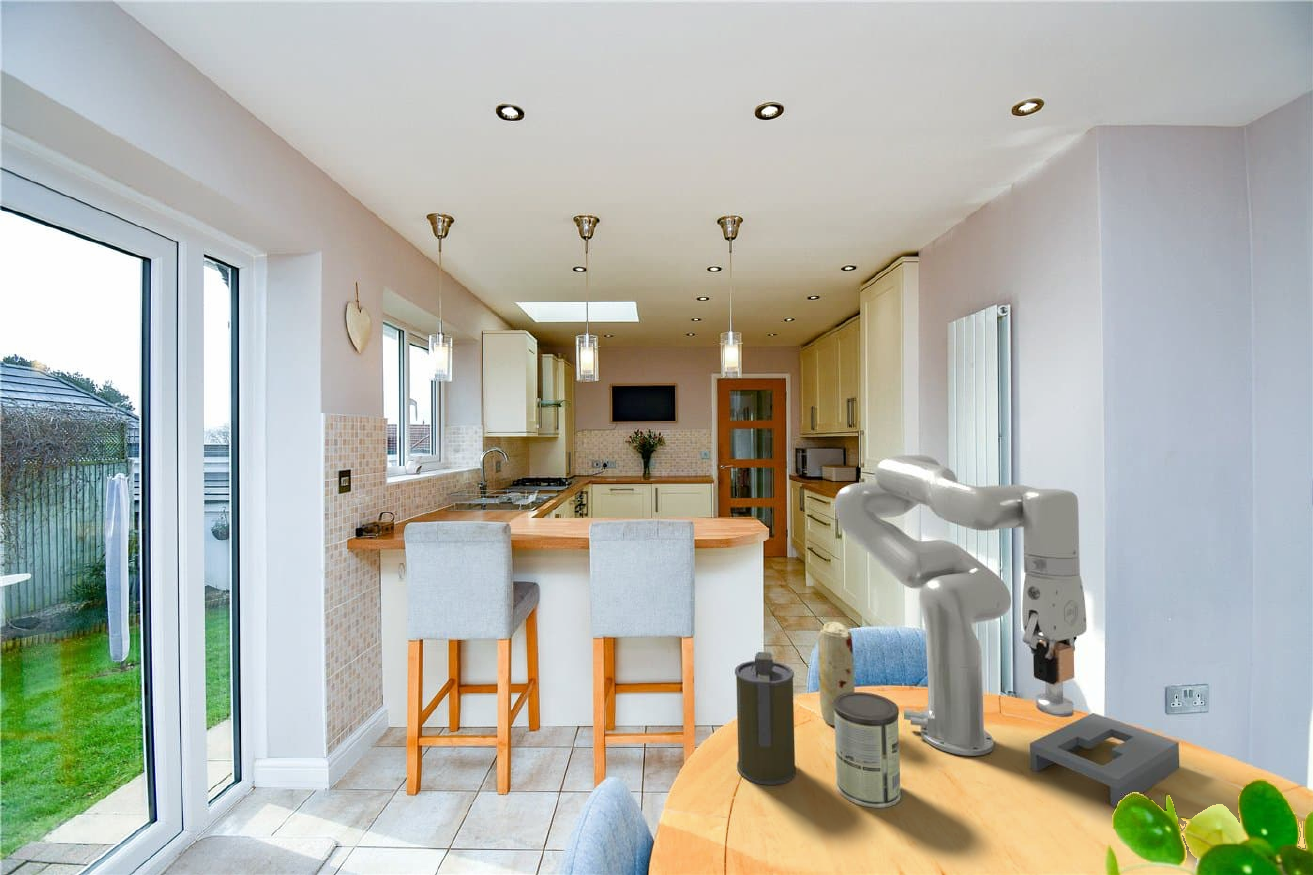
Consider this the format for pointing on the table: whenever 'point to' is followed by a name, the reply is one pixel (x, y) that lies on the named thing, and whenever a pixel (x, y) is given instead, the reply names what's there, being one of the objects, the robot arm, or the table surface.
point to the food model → (834, 666)
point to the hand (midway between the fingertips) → (1053, 676)
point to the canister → (765, 721)
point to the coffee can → (867, 749)
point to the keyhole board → (1133, 762)
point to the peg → (1058, 683)
